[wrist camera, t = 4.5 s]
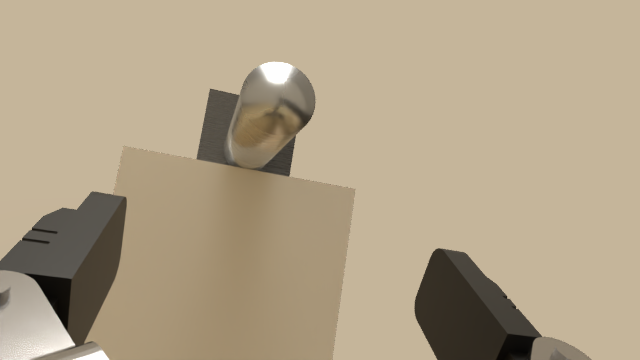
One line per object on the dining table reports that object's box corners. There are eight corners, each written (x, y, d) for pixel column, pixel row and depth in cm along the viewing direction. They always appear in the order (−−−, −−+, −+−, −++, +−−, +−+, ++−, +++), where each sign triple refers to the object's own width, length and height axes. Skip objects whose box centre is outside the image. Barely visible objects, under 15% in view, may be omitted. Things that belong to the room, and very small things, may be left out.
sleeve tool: (271, 190, 37) (281, 130, 38) (344, 149, 19) (360, 35, 20) (195, 177, 36) (207, 115, 36) (195, 118, 17) (218, -3, 18)
